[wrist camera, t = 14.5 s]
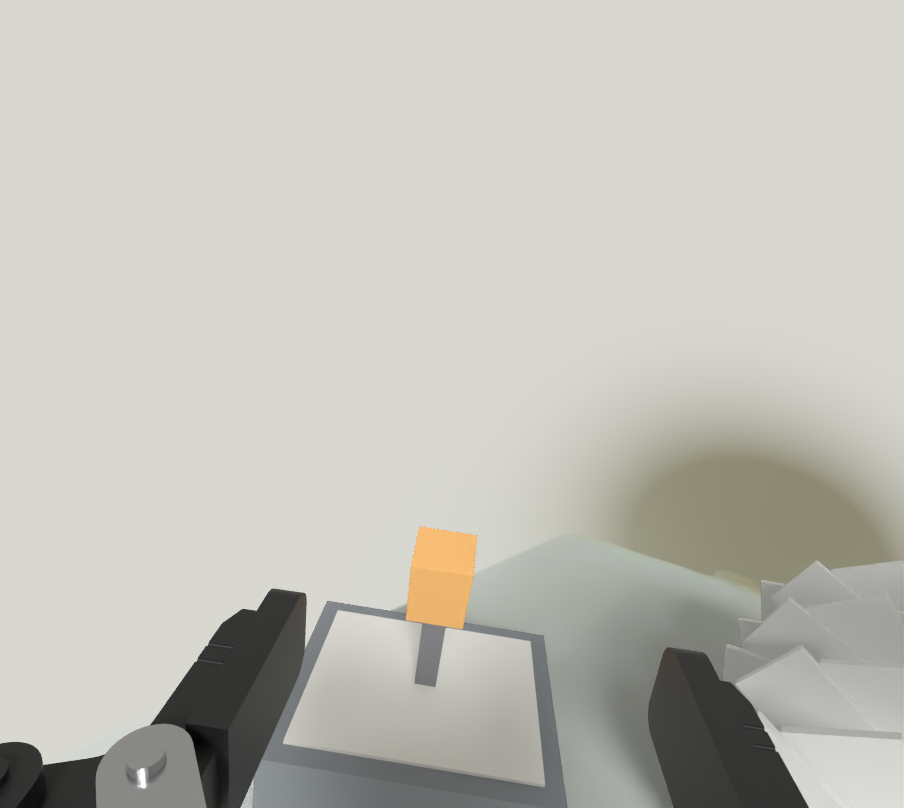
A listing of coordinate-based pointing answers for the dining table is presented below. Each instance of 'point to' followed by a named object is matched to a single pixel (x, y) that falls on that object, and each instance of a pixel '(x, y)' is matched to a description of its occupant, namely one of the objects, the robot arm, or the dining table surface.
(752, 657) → the spiral staircase
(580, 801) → the dining table surface
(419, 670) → the lever
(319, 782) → the block
